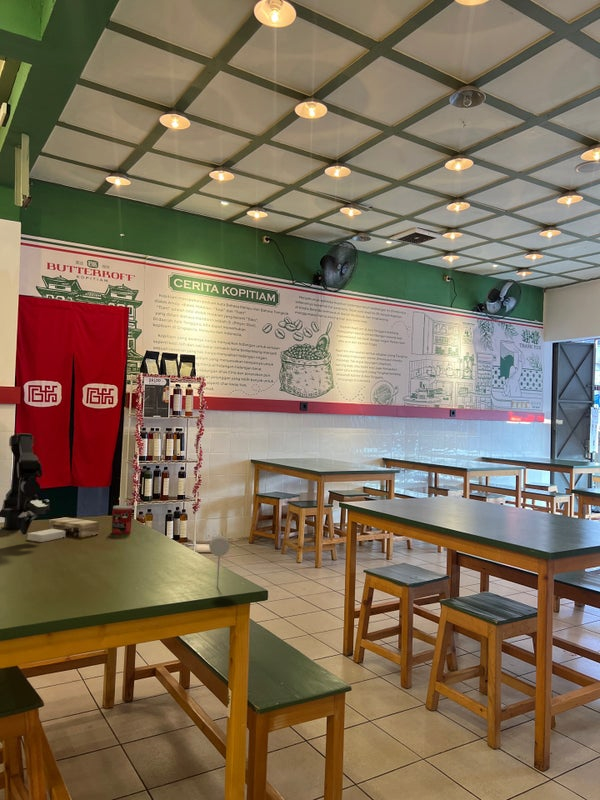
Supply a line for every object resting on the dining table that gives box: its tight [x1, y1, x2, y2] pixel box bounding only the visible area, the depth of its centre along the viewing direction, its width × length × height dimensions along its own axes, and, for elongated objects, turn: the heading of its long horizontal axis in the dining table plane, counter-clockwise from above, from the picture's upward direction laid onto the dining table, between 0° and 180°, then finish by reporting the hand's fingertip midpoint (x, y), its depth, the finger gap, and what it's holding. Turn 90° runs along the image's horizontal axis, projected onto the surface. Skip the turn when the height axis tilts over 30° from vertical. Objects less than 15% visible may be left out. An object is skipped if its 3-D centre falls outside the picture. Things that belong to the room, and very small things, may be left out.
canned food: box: [111, 504, 133, 535], centre depth 252 cm, size 8×8×11 cm
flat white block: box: [27, 528, 67, 543], centre depth 233 cm, size 7×12×2 cm, turn 156°
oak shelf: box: [48, 517, 100, 538], centre depth 246 cm, size 18×9×5 cm, turn 66°
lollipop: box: [208, 535, 231, 588], centre depth 177 cm, size 6×6×15 cm
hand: (24, 534), depth 223 cm, fingers closed
